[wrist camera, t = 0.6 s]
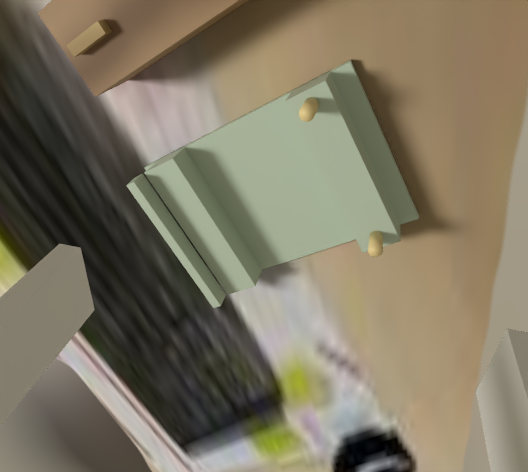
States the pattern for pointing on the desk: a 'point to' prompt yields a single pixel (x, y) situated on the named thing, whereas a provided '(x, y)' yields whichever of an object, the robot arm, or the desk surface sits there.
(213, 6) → the door
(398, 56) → the desk surface
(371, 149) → the carcass
